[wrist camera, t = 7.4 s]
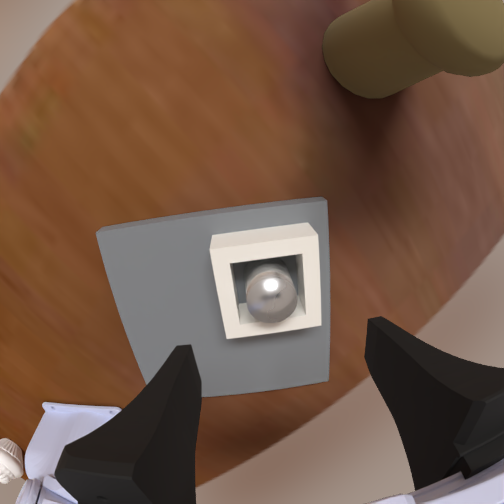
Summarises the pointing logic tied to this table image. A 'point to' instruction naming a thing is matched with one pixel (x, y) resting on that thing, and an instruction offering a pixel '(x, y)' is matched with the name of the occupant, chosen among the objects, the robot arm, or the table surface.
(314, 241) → the collar
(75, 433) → the robot arm
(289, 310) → the post
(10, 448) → the white rounded jar shape
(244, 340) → the board
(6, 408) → the table surface
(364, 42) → the cork
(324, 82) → the table surface
